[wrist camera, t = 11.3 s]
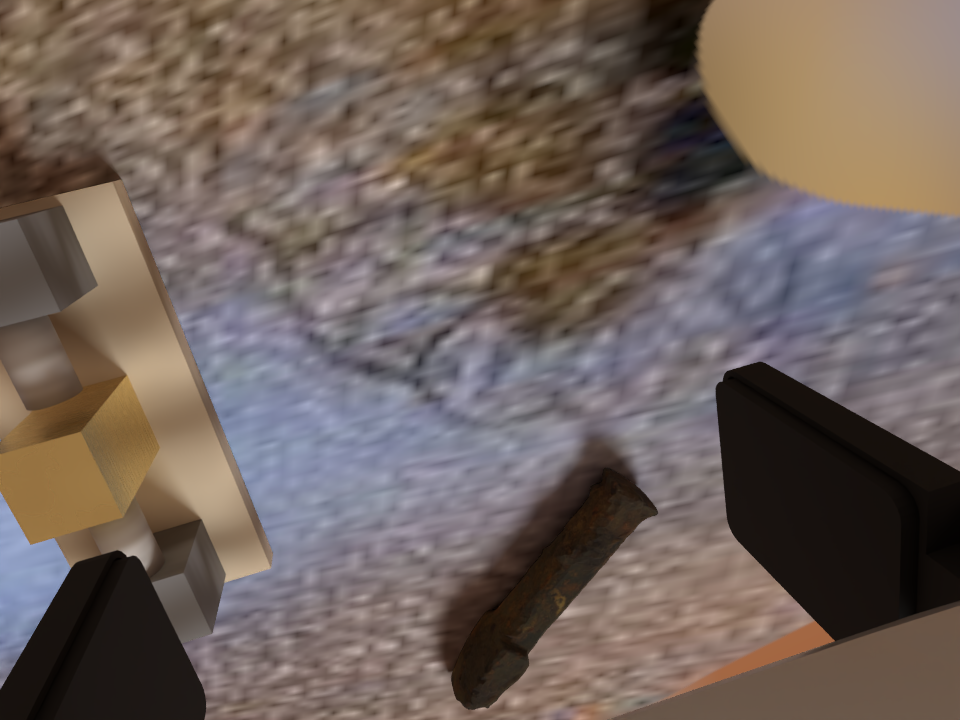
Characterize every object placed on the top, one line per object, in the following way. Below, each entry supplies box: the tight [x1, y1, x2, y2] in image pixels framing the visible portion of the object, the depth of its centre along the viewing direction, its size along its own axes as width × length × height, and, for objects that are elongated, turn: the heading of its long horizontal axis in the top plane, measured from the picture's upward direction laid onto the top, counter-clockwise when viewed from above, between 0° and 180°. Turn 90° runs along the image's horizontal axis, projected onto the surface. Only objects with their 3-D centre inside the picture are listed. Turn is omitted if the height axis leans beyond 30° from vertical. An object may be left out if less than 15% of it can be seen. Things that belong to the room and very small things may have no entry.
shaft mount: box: [0, 180, 273, 643], centre depth 34 cm, size 23×10×6 cm, turn 13°
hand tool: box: [451, 468, 658, 710], centre depth 44 cm, size 19×4×5 cm, turn 139°
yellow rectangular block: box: [0, 375, 160, 545], centre depth 32 cm, size 4×4×7 cm
